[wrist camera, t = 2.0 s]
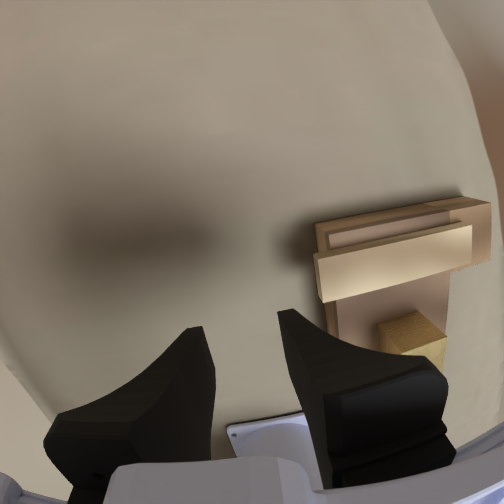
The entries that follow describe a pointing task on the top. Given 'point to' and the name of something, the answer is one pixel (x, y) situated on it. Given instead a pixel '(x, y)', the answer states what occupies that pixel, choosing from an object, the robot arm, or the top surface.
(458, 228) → the beige wooden plank
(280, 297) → the top surface
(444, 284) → the lid
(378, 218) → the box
